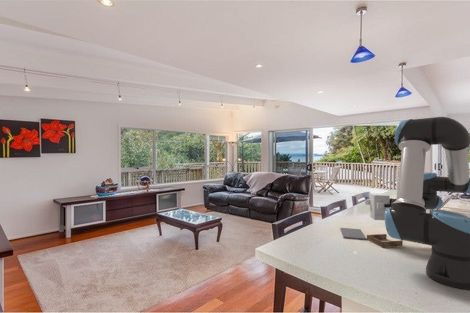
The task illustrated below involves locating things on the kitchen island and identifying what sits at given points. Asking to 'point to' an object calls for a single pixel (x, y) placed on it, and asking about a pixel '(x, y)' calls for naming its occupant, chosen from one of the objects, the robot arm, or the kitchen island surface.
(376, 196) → the supplement box
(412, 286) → the kitchen island surface
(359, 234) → the rubber mat
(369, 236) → the holder bracket
